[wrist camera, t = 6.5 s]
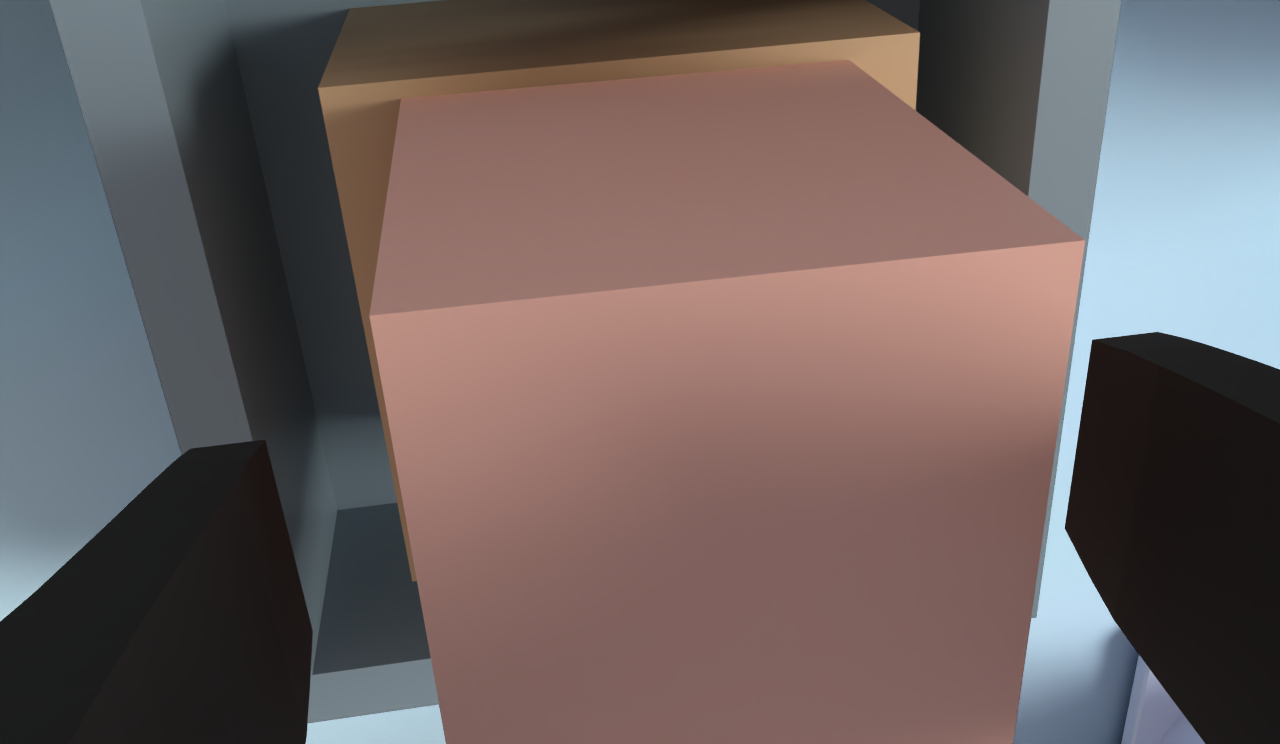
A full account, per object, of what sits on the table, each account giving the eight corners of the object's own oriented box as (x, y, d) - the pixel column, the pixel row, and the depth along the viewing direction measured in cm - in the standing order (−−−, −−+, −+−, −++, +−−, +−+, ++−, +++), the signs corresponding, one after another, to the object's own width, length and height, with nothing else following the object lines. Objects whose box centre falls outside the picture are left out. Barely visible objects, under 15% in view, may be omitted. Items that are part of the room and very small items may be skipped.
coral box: (848, 60, 12) (1086, 239, 7) (831, 538, 15) (995, 873, 10) (400, 98, 11) (370, 316, 7) (473, 584, 14) (484, 956, 10)
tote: (970, -241, 15) (1154, -240, 11) (921, 448, 20) (1036, 617, 16) (128, -185, 14) (1, -161, 10) (301, 528, 19) (262, 729, 15)
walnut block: (812, -32, 15) (919, 32, 12) (806, 369, 18) (892, 516, 15) (349, 7, 15) (317, 87, 11) (419, 416, 17) (412, 581, 14)
